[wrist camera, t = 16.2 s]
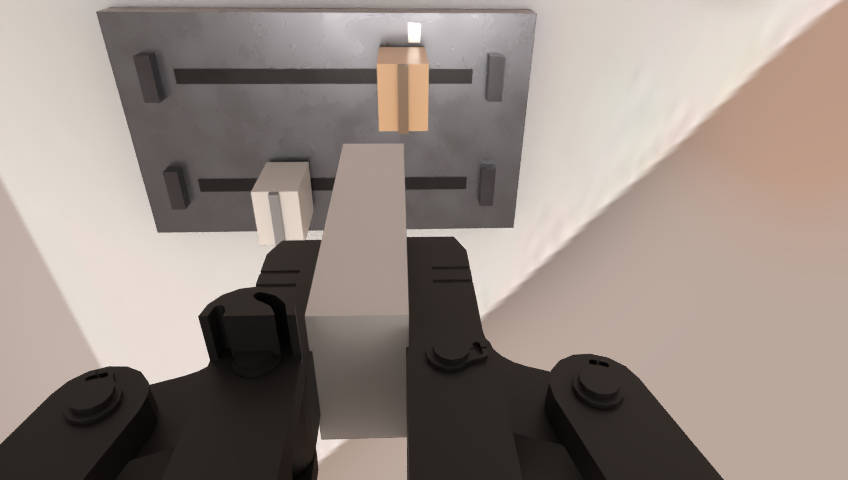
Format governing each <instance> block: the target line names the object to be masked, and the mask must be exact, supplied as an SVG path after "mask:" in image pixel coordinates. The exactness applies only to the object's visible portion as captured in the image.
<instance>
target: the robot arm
mask: <svg viewBox="0 0 848 480" xmlns="http://www.w3.org/2000/svg"><path fill="white" fill-rule="evenodd" d="M198 317H199V321H200V325H201V328H202V332H203V336H204V339H205V343H206V347H207V350H208V354H209V358H210V362H209V365H208V367H206V368H204V369H202V370H200V371H198V372H195V373H192V374H189V375H186V376H182V377H179V378H175V379H171V380H167V381H163V382H159V383H155V384H151V385H149V383H148V381H147V379H146V378H145V377H144V375H143V374H142V373H141V372H140V371H137V370H135V369H132V368H129V367H112V366H109V367H105V368H101V369H97V370H93V371H89V372H87V373H84V374H82V375H80V376H78V377H76V378H74V379H72V380H70V381H68V382H67V383H65V384H64V385H63V386H62V387H60V388H59V389H58V390H57V391H55V392H54V393H52V394H51V395H50V396H49V397H48V398H47V399H46V400H45V401H44V402H43V403H42V404H41V405H40V406H39V407H38V408H37V409H36V410H35V411H34V412H33V413H32V414H31V415H30V416H29V417H28V418H27V419H26V420H25V421H24V422H23V423H22V424H21V425H20V426H19V427H18V428H17V429H16V430H15V431H14V432H13V433H12V434H10V436H9V437H7V438H6V439H5V440H4V441H3V442H2V443H1V444H0V480H317V475H318V461H317V453H316V443H317V436H318V429H319V425H320V433H321V440H325V439H359V438H396V437H407V480H724V479H723V478H722V477H721V476H720V475H719V474H718V472H717V471H716V470H715V469H714V468H713V466H712V465H711V464H710V463H709V462H708V460H707V459H706V458H705V457H704V456H703V454H702V453H701V452H700V451H699V450H698V448H697V447H696V446H695V445H694V444H693V442H692V441H691V440H690V439H689V438H688V436H687V435H686V434H685V433H684V432H683V431H682V429H681V428H680V427H679V426H678V424H677V423H676V422H675V421H674V420H673V418H672V417H671V416H670V415H669V414H668V412H667V411H666V410H665V409H664V408H663V406H662V405H661V404H660V403H659V402H658V400H657V399H656V398H655V397H654V396H653V394H652V393H651V392H650V391H649V390H648V389H647V387H646V386H645V385H644V384H643V383H642V381H641V380H640V379H639V378H638V377H637V376H636V375H635V374H633V373H632V372H631V371H630V370H629V369H628V368H627V367H626V366H624V365H622V364H620V363H618V362H616V361H614V360H611V359H610V358H607V357H602V356H598V355H593V354H581V355H580V354H579V355H572V356H569V357H567V358H565V359H562V360H560V361H559V362H558V363H557V364H556V365H555V367H554V368H553V369H552V370H551V372H549V371H544V370H540V369H536V368H532V367H527V366H524V365H521V364H518V363H514V362H512V361H510V360H508V359H506V358H505V357H503V356H501V355H500V354H498V353H497V352H496V351H495V350H494V349H493V348H492V346H491V344H490V342H489V341H488V340H487V339H485V336H484V334H483V330H482V325H481V320H480V315H479V310H478V305H477V300H476V295H475V290H474V285H473V283H472V276H471V271H470V266H469V261H468V256H467V251H466V249H465V248H464V247H463V246H462V245H461V244H460V243H459V242H458V241H457V240H456V239H455V238H454V237H406V205H405V172H404V144H343V147H342V151H341V156H340V160H339V165H338V169H337V174H336V178H335V183H334V187H333V192H332V196H331V201H330V205H329V210H328V214H327V218H326V223H325V227H324V232H323V236H322V240H282V241H281V242H280V243H279V244H278V245H277V246H276V247H275V248H274V249H272V250H271V251H270V252H269V253H268V254H267V256H266V258H265V261H264V264H263V267H262V269H261V274H260V275H259V277H258V280H257V283H256V287H251V288H243V289H238V290H235V291H232V292H230V293H227V294H224V295H222V296H220V297H219V298H217V299H216V300H214V301H213V302H211V303H209V304H208V305H207V306H206V307H205V309H204V310H203V311H202V312H201V314H200V315H199V316H198Z"/></svg>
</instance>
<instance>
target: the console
mask: <svg viewBox="0 0 848 480" xmlns="http://www.w3.org/2000/svg"><path fill="white" fill-rule="evenodd" d="M96 13H97V16H98V20H99V24H100V27H101V31H102V34H103V38H104V41H105V45H106V49H107V52H108V56H109V59H110V63H111V66H112V70H113V74H114V77H115V81H116V84H117V88H118V91H119V95H120V99H121V102H122V106H123V109H124V113H125V116H126V120H127V124H128V127H129V131H130V134H131V138H132V142H133V145H134V149H135V152H136V156H137V159H138V163H139V167H140V170H141V174H142V177H143V181H144V184H145V188H146V192H147V195H148V199H149V202H150V206H151V209H152V213H153V217H154V220H155V224H156V227H157V231H158V233H159V232H232V231H257V226H256V220H255V214H254V209H253V203H252V197H251V190H252V189H253V187H254V185H255V183H256V181H257V179H258V177H259V176H260V174H261V172H262V170H263V168H264V166H265V164H266V163H267V162H309V171H310V180H311V190H312V199H313V209H314V212H313V215H312V219H311V222H310V226H309V229H308V230H324V227H325V223H326V218H327V214H328V210H329V205H330V201H331V196H332V192H333V187H334V183H335V178H336V174H337V169H338V165H339V160H340V156H341V151H342V147H343V144H404V172H405V205H406V229H451V228H513V226H514V217H515V208H516V198H517V189H518V180H519V171H520V162H521V153H522V144H523V134H524V125H525V116H526V107H527V98H528V89H529V79H530V70H531V61H532V52H533V43H534V34H535V25H536V15H537V14H536V13H535V12H533V11H532V10H530V9H339V8H136V7H110V8H107V9H103V10H100V11H97V12H96ZM379 47H425V50H426V54H427V58H428V63H429V91H428V131H409V134H399V131H379V117H378V87H377V58H378V51H379Z"/></svg>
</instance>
